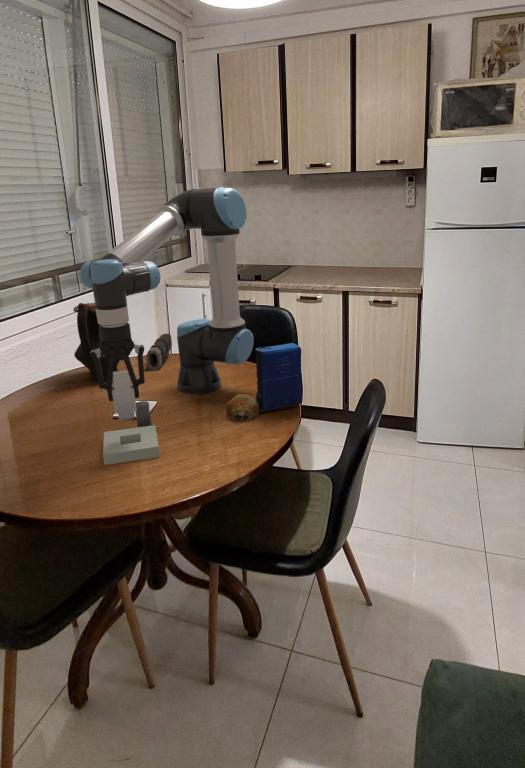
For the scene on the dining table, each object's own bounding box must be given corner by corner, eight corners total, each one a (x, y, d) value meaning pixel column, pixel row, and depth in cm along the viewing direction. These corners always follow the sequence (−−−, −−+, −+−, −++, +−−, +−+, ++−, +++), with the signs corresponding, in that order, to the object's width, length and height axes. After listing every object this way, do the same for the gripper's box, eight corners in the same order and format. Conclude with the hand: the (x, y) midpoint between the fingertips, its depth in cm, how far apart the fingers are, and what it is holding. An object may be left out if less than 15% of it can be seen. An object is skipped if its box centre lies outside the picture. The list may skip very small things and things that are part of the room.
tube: (179, 354, 240) (165, 368, 210) (165, 358, 240) (148, 373, 211) (172, 330, 237) (156, 341, 208) (157, 334, 238) (139, 346, 209)
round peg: (151, 425, 164) (148, 400, 161) (152, 431, 160) (149, 405, 157) (137, 427, 163) (134, 402, 160) (138, 433, 159) (134, 407, 156)
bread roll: (263, 424, 169) (267, 398, 169) (246, 422, 160) (250, 395, 160) (236, 418, 174) (240, 393, 174) (218, 416, 165) (222, 390, 165)
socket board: (156, 434, 157) (155, 425, 156) (159, 456, 145) (158, 446, 144) (105, 441, 155) (104, 432, 153) (104, 465, 142) (102, 454, 141)
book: (260, 415, 166) (258, 351, 159) (253, 409, 171) (251, 346, 164) (303, 407, 171) (303, 344, 164) (295, 401, 176) (295, 340, 169)
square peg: (134, 412, 148) (128, 370, 144) (134, 418, 145) (128, 374, 141) (119, 414, 147) (112, 371, 143) (119, 420, 144) (112, 376, 140)
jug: (91, 368, 217) (79, 292, 207) (136, 368, 215) (126, 291, 204) (66, 387, 198) (51, 305, 187) (116, 388, 195) (103, 304, 185)
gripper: (148, 317, 143) (157, 401, 151) (79, 323, 139) (92, 409, 147) (149, 323, 136) (159, 411, 144) (77, 330, 132) (91, 420, 140)
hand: (125, 410), depth 146 cm, fingers closed on square peg, 4 cm apart
